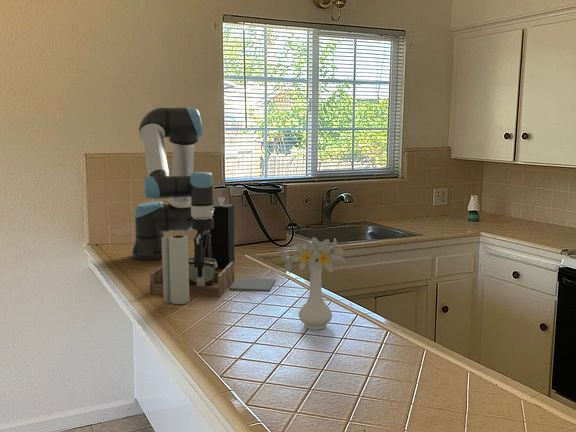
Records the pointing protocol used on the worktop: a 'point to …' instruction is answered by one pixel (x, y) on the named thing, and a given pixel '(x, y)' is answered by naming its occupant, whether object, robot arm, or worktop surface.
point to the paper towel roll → (175, 269)
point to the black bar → (223, 234)
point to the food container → (209, 271)
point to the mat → (252, 284)
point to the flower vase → (315, 279)
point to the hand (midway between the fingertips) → (203, 282)
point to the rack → (222, 277)
